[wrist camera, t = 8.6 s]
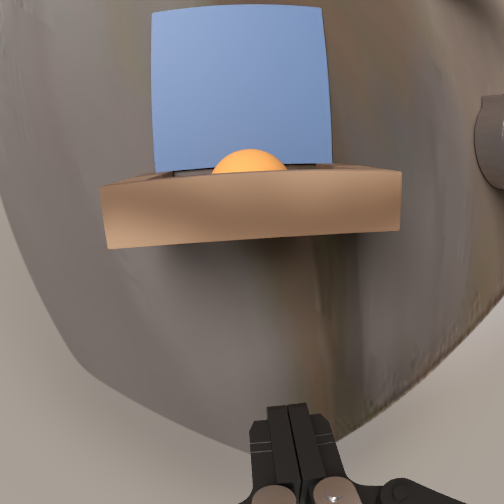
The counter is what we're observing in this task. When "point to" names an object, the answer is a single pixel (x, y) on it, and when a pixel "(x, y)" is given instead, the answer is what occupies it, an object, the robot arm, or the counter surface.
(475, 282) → the counter surface
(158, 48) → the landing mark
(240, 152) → the ball
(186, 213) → the bridge
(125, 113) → the counter surface
